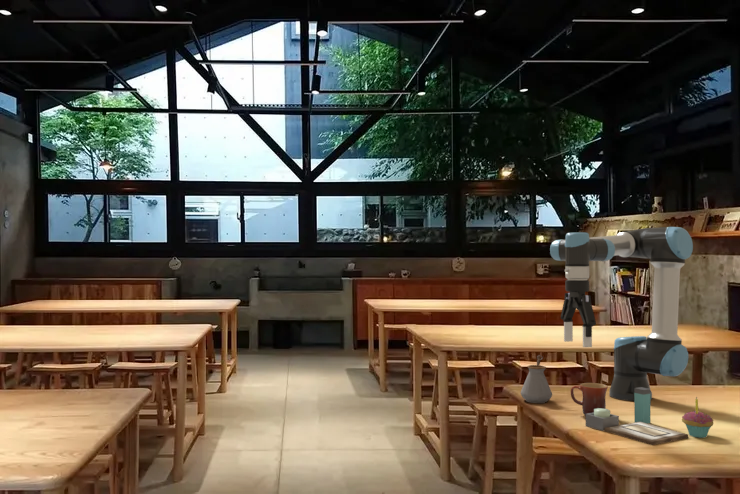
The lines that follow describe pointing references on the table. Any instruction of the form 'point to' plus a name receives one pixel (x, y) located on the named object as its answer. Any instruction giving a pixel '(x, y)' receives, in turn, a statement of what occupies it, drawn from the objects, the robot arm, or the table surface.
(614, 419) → the button frame
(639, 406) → the grey and mint block
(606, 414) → the button
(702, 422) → the donut
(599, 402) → the mug
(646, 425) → the picture frame
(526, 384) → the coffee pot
